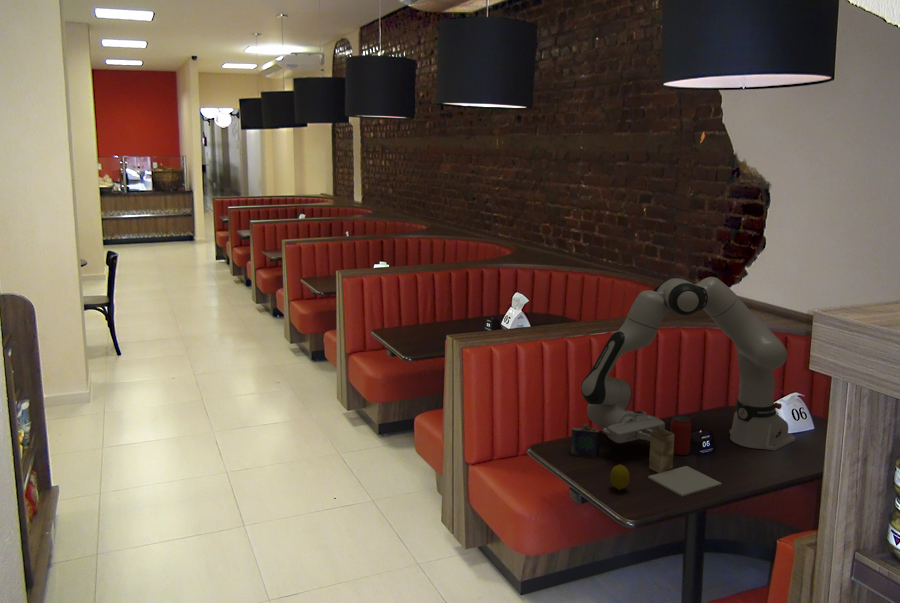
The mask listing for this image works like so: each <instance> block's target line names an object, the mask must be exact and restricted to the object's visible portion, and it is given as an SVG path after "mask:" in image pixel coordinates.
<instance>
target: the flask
mask: <svg viewBox="0 0 900 603" xmlns="http://www.w3.org/2000/svg"><path fill="white" fill-rule="evenodd" d="M600 440H601V431H600V430H599V429H596V428H594V427H592V428H591V427H590V426H588V423H584V424H583V428H582V427H573V428H572V429H571V441H570V443H571V444H570V446H571V448H570V454H571V456H574V457H575V456H577V457H590V458H600V448H601V446H600Z"/></svg>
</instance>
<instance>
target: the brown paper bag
mask: <svg viewBox="0 0 900 603" xmlns="http://www.w3.org/2000/svg"><path fill="white" fill-rule="evenodd" d="M649 442H650V443H649V460H648V461H649V462H648V463H649V464H648V468H649V469H650V470H653V471H654V472H656V473H657V474H658V473H662V472H666V471H669V470H673V466H674V454H673V451H674V434H673V433H672V432H670V430H667V429H666V428H665V429H659V430H654V431H652V432H651V438H650V441H649Z"/></svg>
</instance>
